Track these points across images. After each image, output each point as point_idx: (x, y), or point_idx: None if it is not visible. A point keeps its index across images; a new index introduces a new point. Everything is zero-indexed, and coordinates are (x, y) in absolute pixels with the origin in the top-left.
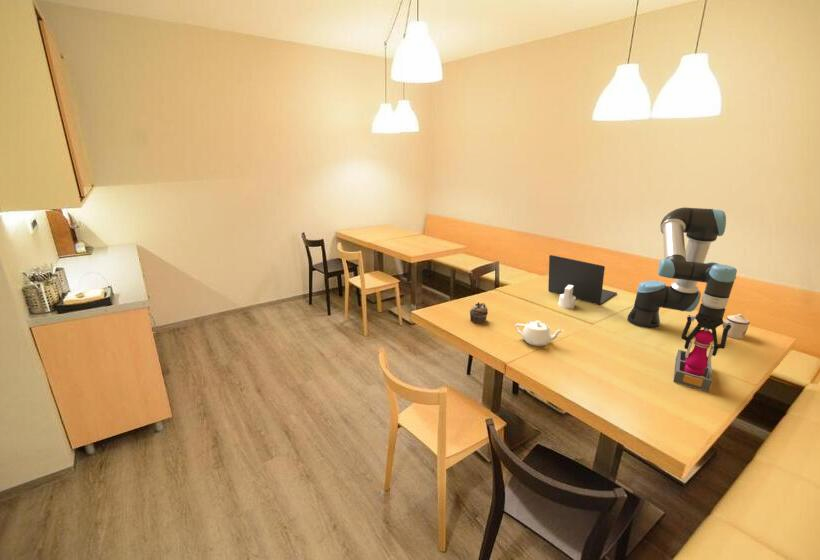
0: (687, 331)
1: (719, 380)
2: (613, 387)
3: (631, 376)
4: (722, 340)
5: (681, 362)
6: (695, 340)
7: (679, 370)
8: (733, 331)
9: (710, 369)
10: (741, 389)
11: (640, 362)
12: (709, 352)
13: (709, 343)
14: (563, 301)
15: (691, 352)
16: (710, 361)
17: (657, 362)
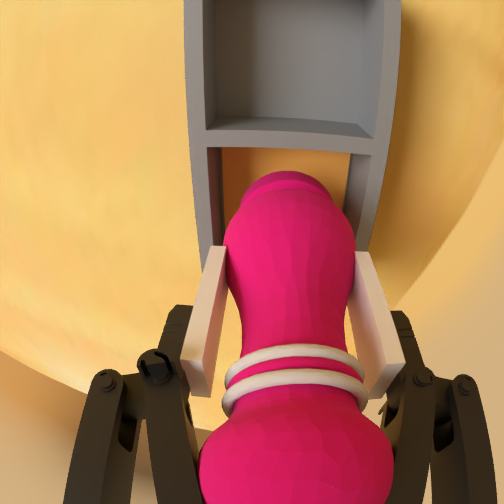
0: (128, 487)
1: (413, 112)
2: (99, 350)
3: (95, 286)
4: (434, 476)
5: (217, 144)
6: (228, 413)
7: (225, 148)
8: None
9: (380, 165)
10: (473, 157)
11: (70, 155)
12: (367, 318)
13: (358, 408)
14: None
15: (237, 306)
16: (397, 36)
17: (122, 92)
